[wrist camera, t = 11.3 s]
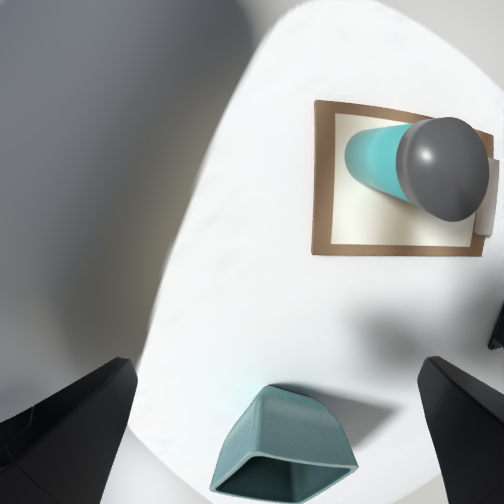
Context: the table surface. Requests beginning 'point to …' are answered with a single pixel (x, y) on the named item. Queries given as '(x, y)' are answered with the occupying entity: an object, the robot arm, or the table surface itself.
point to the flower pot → (283, 450)
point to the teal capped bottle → (424, 165)
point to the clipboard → (383, 196)
